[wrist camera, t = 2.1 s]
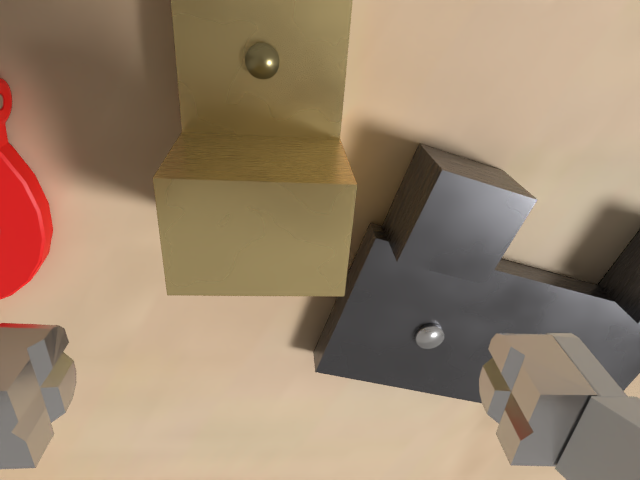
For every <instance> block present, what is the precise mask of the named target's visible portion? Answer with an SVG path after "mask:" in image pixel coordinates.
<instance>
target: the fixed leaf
mask: <svg viewBox="0 0 640 480" xmlns="http://www.w3.org/2000/svg"><path fill="white" fill-rule="evenodd" d="M536 201H537V199H536V198H535V197H534V196H532V195H531V194H530V193H529V192H528V191H527V190H525V189H524V188H523V187H522V186H521V185H520V184H518V183H517V182H516V181H515V180H514V179H513V178H511V177H510V176H509V175H508V174H507V173H506V172H504V171H503V170H500V169H497V168H494V167H491V166H488V165H485V164H482V163H479V162H476V161H473V160H470V159H466V158H463V157H460V156H457V155H454V154H451V153H448V152H445V151H442V150H439V149H436V148H433V147H430V146H427V145H423V144H419V146H418V148H417V150H416V152H415V155H414V157H413V159H412V161H411V163H410V166H409V168H408V170H407V172H406V174H405V177H404V179H403V181H402V183H401V185H400V188H399V190H398V192H397V194H396V196H395V199H394V201H393V203H392V205H391V207H390V210H389V212H388V214H387V216H386V218H385V221H384V223H383V225H382V226H380V225H376V224H372V223H370V225H369V227H368V229H367V232H366V234H365V236H364V238H363V241H362V243H361V245H360V248H359V250H358V252H357V254H356V257H355V259H354V261H353V264H352V266H351V268H350V270H349V273H348V275H347V278H346V287H345V295H344V296H338V298H337V300H336V302H335V305H334V307H333V309H332V311H331V314H330V316H329V318H328V321H327V323H326V325H325V327H324V330H323V332H322V334H321V336H320V339H319V341H318V343H317V346H316V348H315V350H314V363H315V372H319V373H324V374H329V375H335V376H340V377H345V378H351V379H356V380H361V381H367V382H372V383H377V384H383V385H388V386H393V387H399V388H404V389H409V390H415V391H420V392H425V393H430V394H436V395H441V396H446V397H452V398H457V399H462V400H468V401H473V402H478V403H482V401H481V397H480V392H479V377H480V374H481V370H482V366H483V365H484V364H485V363H487V362H488V361H489V360H490V359H491V358H493V357H492V355H491V353H490V351H489V349H488V348H489V345H490V342H491V339H492V338H493V337H494V336H495V334H496V333H514V334H546V333H572V334H574V335H575V336H577V337H579V338H580V340H581V341H582V342H583V343H584V344H585V346H586V347H587V348H588V349H589V350H590V352H591V353H592V354H593V355H594V356H595V358H596V359H597V360H598V361H599V362H600V364H601V365H602V366H603V367H604V368H605V370H606V371H607V372H608V373H609V375H610V376H611V377H612V378H613V379H614V381H615V382H616V383H617V384H618V385H619V387H620V388H621V389H622V390H623V391H624V390H625V388H626V387H627V386H628V385H629V384H630V383H631V382H632V381H633V380H634V379H635V378H636V376H637V375H638V374H639V373H640V231H639V232H638V233H637V234H636V236H635V237H634V238H633V240H632V241H631V242H630V244H629V245H628V246H627V248H626V249H625V250H624V252H623V253H622V254H621V255H620V257H619V258H618V259H617V261H616V262H615V263H614V265H613V266H612V267H611V269H610V270H609V271H608V272H607V274H606V275H605V276H604V278H603V279H602V280H601V282H600V283H599V284H598V285H595V284H591V283H588V282H584V281H580V280H577V279H573V278H569V277H566V276H562V275H558V274H555V273H551V272H548V271H544V270H540V269H537V268H533V267H529V266H526V265H522V264H518V263H515V262H511V261H507V260H504V259H501V258H502V256H503V255H504V253H505V251H506V250H507V248H508V247H509V245H510V243H511V242H512V240H513V239H514V237H515V235H516V234H517V232H518V230H519V229H520V227H521V226H522V224H523V222H524V221H525V219H526V218H527V216H528V214H529V213H530V211H531V209H532V208H533V206H534V205H535V203H536Z"/></svg>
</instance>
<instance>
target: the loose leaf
mask: <svg viewBox="0 0 640 480" xmlns="http://www.w3.org/2000/svg"><path fill="white" fill-rule="evenodd" d="M171 10H172V22H173V33H174V45H175V57H176V68H177V80H178V92H179V103H180V115H181V127H182V133H181V134H180V136H179V137H178V139H177V141H176V142H175V144H174V145H173V147H172V148H171V150H170V152H169V153H168V155H167V156H166V158H165V159H164V161H163V163H162V164H161V166H160V167H159V169H158V171H157V172H156V174H155V175H154V177H153V185H154V193H155V201H156V209H157V217H158V225H159V233H160V241H161V249H162V257H163V265H164V273H165V282H166V290H167V295H203V296H344V295H345V287H346V278H347V269H348V261H349V252H350V243H351V235H352V226H353V218H354V209H355V200H356V192H357V183H356V180H355V177H354V175H353V172H352V169H351V167H350V164H349V161H348V159H347V156H346V153H345V151H344V148H343V146H342V143H341V140H340V132H341V121H342V110H343V99H344V88H345V77H346V66H347V55H348V44H349V33H350V22H351V11H352V0H171Z"/></svg>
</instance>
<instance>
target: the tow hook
mask: <svg viewBox="0 0 640 480" xmlns="http://www.w3.org/2000/svg"><path fill="white" fill-rule="evenodd" d="M11 108H12V95H11V91H10V88H9V85H8V84H7V82H6V81H5V80H3V79H1V78H0V299H3V298H5V297H8V296H11V295H13V294H14V293H15V292H16V291H18V290H19V289H20V288H22V287H23V286H24V285H26V284H27V283H28V282H29V281H30V280H31V279H32V278H33V277H34V275H35V274H36V273H37V272H38V270H39V268H40V267H41V265H42V263H43V262H44V260H45V258H46V257H47V255H48V254H49V250H50V244H51V238H52V233H53V227H52V221H51V215H50V209H49V203H48V201H47V199H46V197H45V195H44V193H43V191H42V188H41V186H40V184H39V182H38V180H37V178H36V176H35V174H34V173H33V172H32V170H31V169H30V168H29V167H28V165H27V164H26V163H25V162H24V160H23V159H22V158H21V157H20V155H19V154H18V153H17V152H16V150H15V149H14V148H13V147H12V145H10V144H9V143H8V139H7V133H6V126H5V122H6V121H7V119H8V118H9V115H10V113H11Z"/></svg>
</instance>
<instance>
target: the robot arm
mask: <svg viewBox="0 0 640 480" xmlns="http://www.w3.org/2000/svg"><path fill="white" fill-rule="evenodd" d="M68 343H69V341H68V338H67V335H66V332H65V329H64V328H62V327H60V326H58V325H37V324H12V323H1V324H0V469H19V468H36V466H37V464H38V463H39V461H40V459H41V457H42V455H43V453H44V452H45V450H46V448H47V446H48V444H49V442H50V440H51V439H52V437H53V435H54V432H53V428H52V425H51V423H52V422H53V421H54V420H56V419H57V418H59V417H60V416H61V415H63V414H64V413H66V411H67V409H68V407H69V405H70V403H71V401H72V399H73V395H74V390H75V386H76V368H75V364H74V361H73V360H72V359H71V358H70V357H69V356H67V355H66V354H65V353H64V352H63V351H64V349H65V348H66V346H67V345H68ZM488 349H489V351H490V353H491V355H492V357H493V358H491V359H490V360H489V361H488V362H487V363H485V364H484V365H483V366H482V370H481V374H480V377H479V392H480V397H481V401H482V404H483V406H484V409H485V411H486V413H487V414H488V415H489V416H490V417H491V418H493V419H494V420H495V421H496V422H498V423H499V426H498V429H497V432H496V435H497V437H498V439H499V442H500V444H501V446H502V448H503V450H504V452H505V454H506V457H507V459H508V461H509V463H510V465H521V466H556V468H555V469H556V470H557V471H558V472H559V473H560V474H561V475H562V476H563V477H565V478H566V479H567V480H640V399H639V398H637V397H628V396H627V395H626V394H625V393H624V391H623V390H622V389H621V388H620V387H619V385H618V384H617V383H616V382H615V381H614V379H613V378H612V377H611V376H610V375H609V373H608V372H607V371H606V370H605V368H604V367H603V366H602V365H601V364H600V362H599V361H598V360H597V359H596V358H595V356H594V355H593V354H592V353H591V352H590V350H589V349H588V348H587V347H586V346H585V344H584V343H583V342H582V341H581V340H580V338H579V337H577V336H575V335H574V334H572V333H546V334H514V333H496V334H495V336H494V337H493V338H492V339H491V342H490V345H489V348H488Z"/></svg>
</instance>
